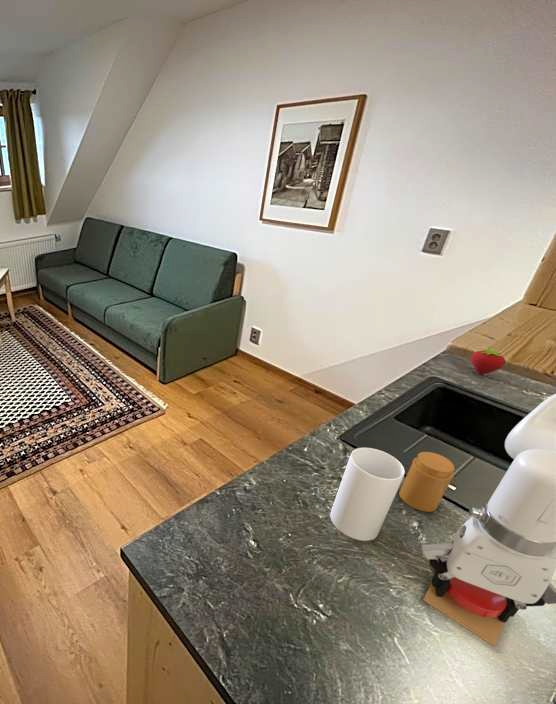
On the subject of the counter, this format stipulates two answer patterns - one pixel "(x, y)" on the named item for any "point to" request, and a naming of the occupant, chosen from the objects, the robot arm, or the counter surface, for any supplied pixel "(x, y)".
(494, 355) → the strawberry
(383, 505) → the cup
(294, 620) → the counter surface
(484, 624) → the mat
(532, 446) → the robot arm
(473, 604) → the lid
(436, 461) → the jar
